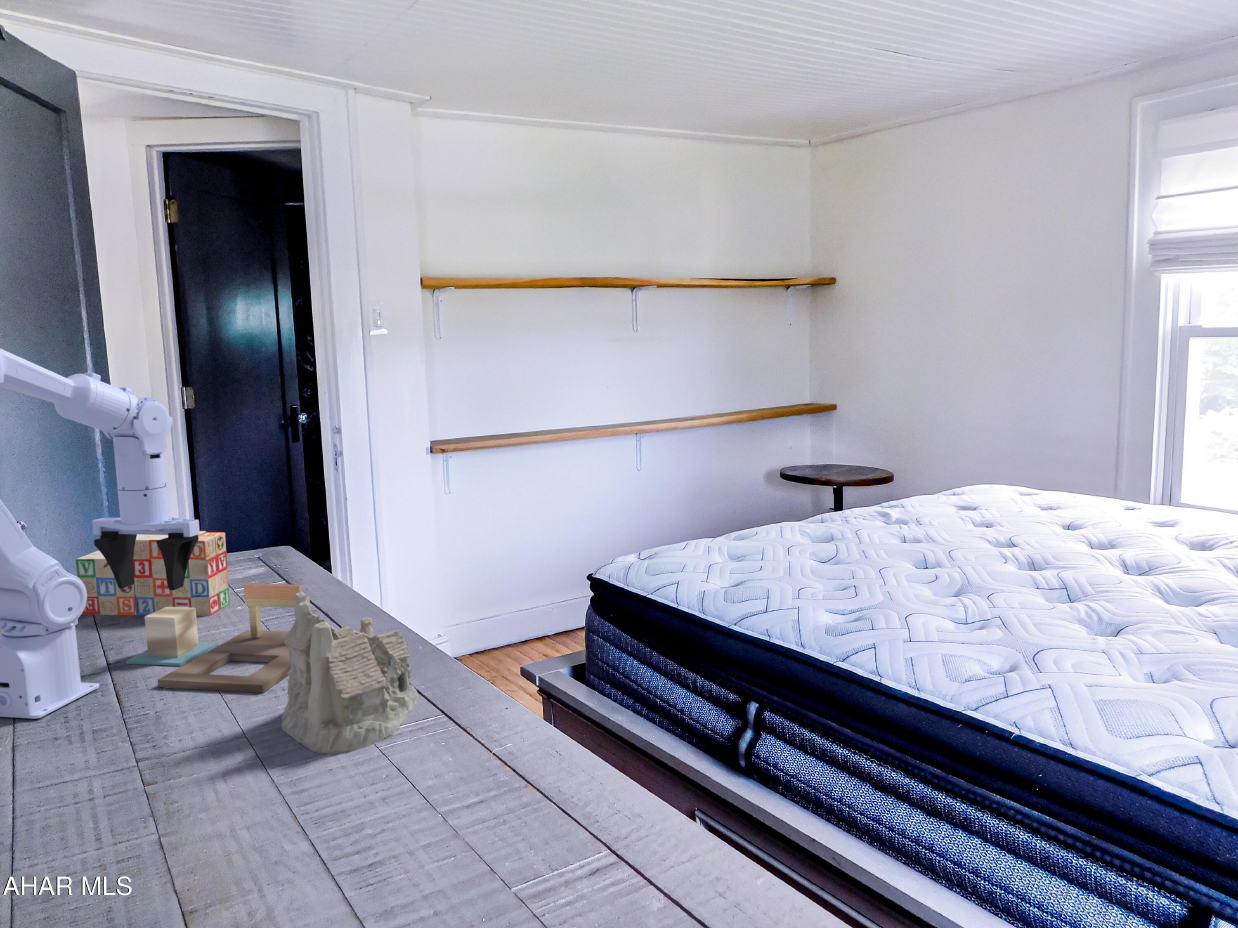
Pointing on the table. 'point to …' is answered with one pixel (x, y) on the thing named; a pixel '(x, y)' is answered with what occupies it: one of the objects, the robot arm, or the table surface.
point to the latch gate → (268, 600)
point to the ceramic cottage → (344, 683)
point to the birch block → (171, 631)
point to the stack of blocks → (158, 580)
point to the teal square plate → (172, 661)
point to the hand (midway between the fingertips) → (151, 587)
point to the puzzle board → (236, 649)
